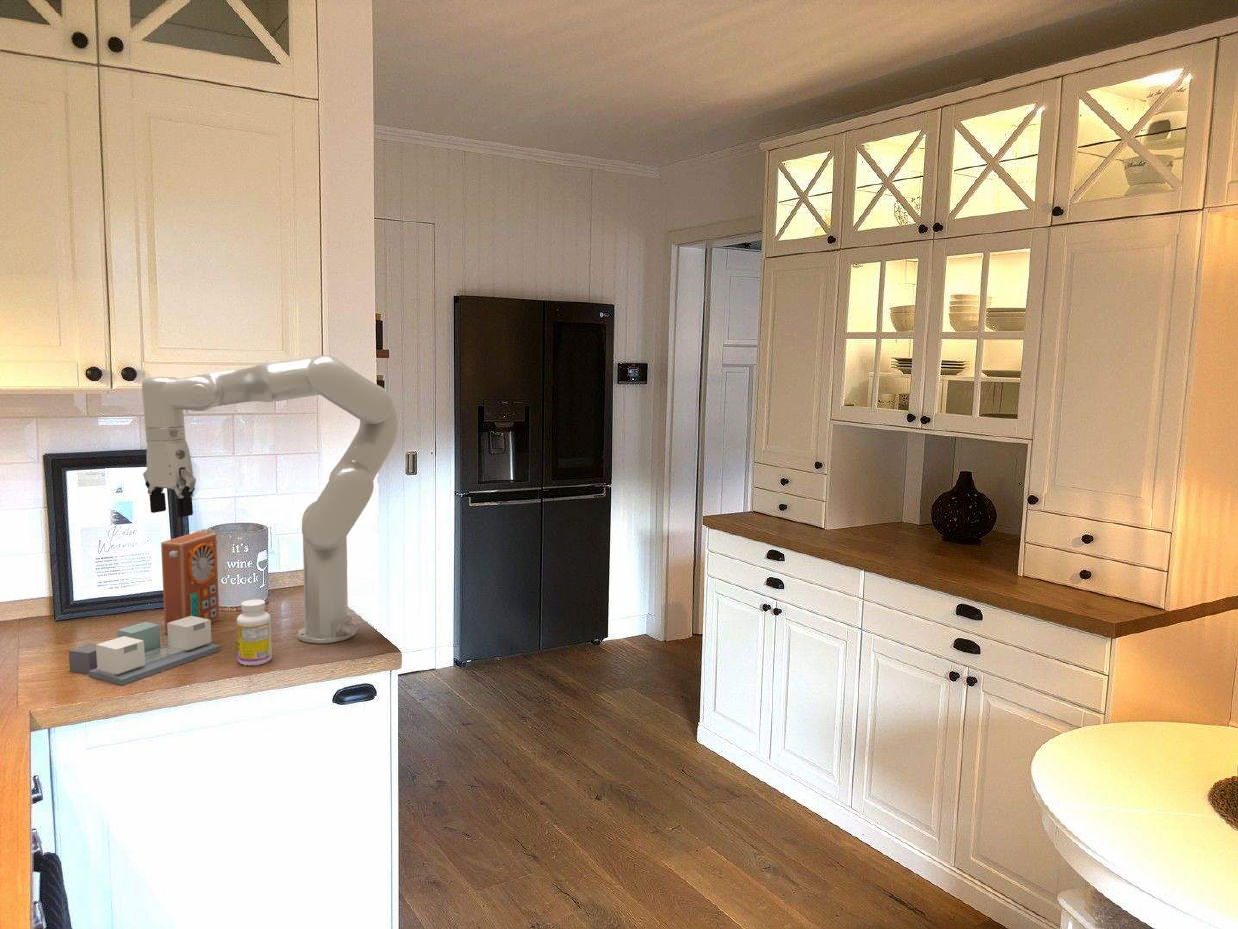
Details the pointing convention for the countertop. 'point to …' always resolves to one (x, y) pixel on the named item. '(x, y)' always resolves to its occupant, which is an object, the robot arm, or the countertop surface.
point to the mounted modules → (131, 651)
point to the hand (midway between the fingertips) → (171, 513)
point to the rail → (157, 657)
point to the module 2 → (143, 634)
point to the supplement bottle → (254, 633)
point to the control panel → (190, 577)
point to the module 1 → (83, 658)
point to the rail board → (155, 665)
